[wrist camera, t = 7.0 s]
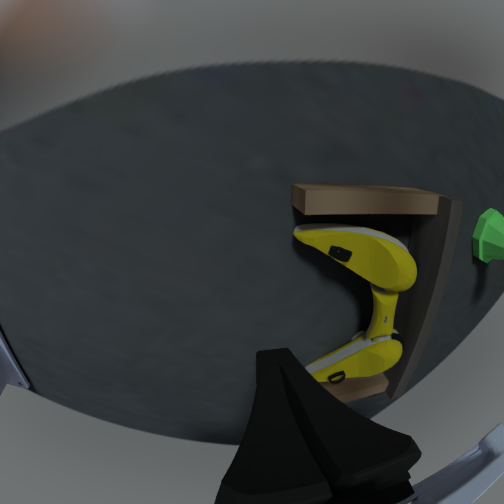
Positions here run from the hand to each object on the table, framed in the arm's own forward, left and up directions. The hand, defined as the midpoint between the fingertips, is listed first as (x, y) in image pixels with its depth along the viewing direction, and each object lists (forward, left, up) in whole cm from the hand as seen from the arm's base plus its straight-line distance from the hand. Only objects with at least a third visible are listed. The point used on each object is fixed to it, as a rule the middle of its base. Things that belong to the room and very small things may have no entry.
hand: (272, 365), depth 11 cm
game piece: (+18, +4, -4) cm, 19 cm away
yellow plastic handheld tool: (+5, 0, -4) cm, 7 cm away
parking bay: (+5, 0, -4) cm, 6 cm away
